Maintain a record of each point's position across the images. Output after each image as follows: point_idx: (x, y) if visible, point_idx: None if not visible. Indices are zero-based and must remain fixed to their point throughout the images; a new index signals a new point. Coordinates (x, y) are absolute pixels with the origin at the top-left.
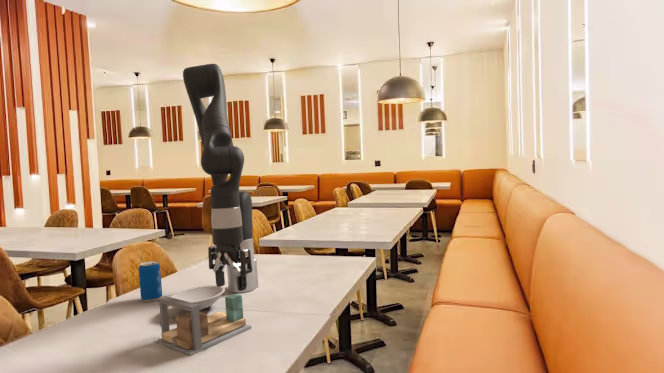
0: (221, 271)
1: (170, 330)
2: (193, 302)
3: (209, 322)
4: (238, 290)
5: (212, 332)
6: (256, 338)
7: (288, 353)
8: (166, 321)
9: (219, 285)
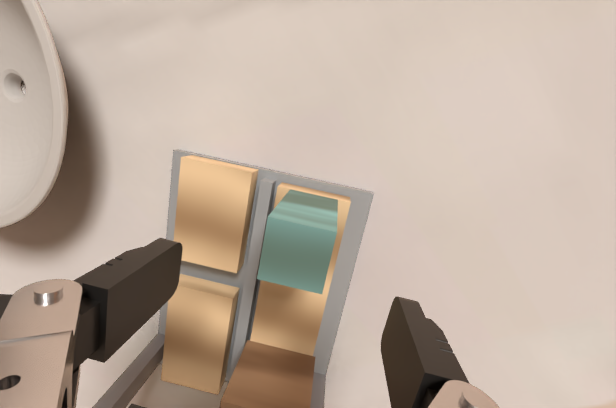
0: (97, 313)
1: (166, 357)
2: (44, 196)
3: (236, 271)
4: (382, 341)
5: (315, 341)
6: (442, 261)
7: (611, 329)
8: (136, 382)
9: (173, 284)
